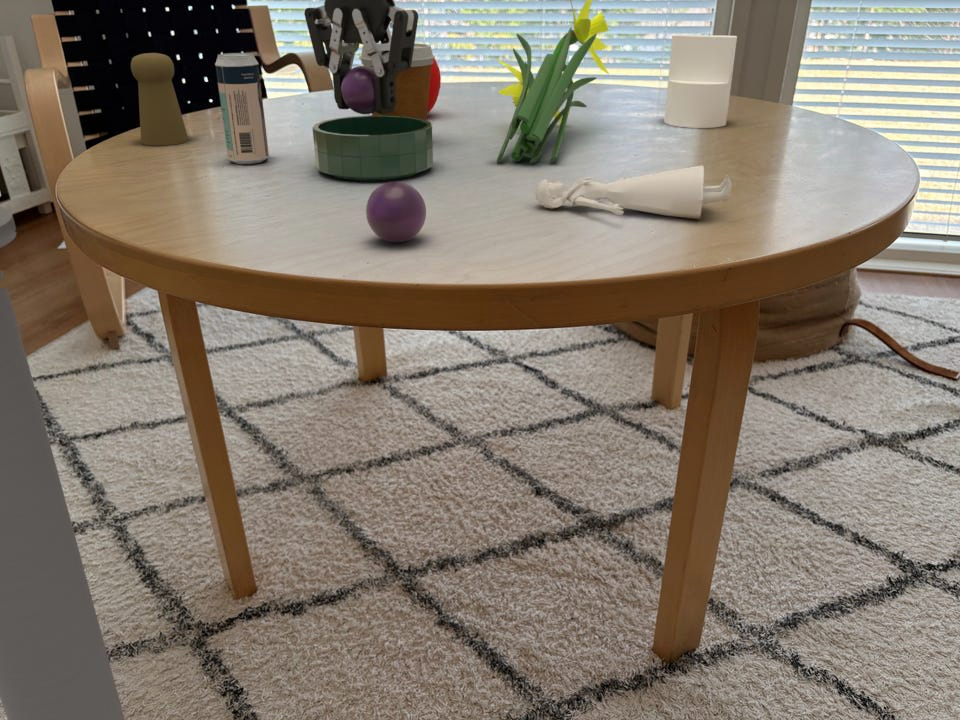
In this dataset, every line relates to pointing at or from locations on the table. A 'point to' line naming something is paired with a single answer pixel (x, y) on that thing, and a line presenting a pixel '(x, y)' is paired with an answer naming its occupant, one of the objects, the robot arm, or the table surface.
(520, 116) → the daffodil flowers
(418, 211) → the ball front
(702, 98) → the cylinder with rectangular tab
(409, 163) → the bowl
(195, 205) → the table surface
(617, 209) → the woman figurine
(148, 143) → the olive pawn
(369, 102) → the ball left
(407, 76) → the disposable coffee cup
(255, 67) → the beer can
